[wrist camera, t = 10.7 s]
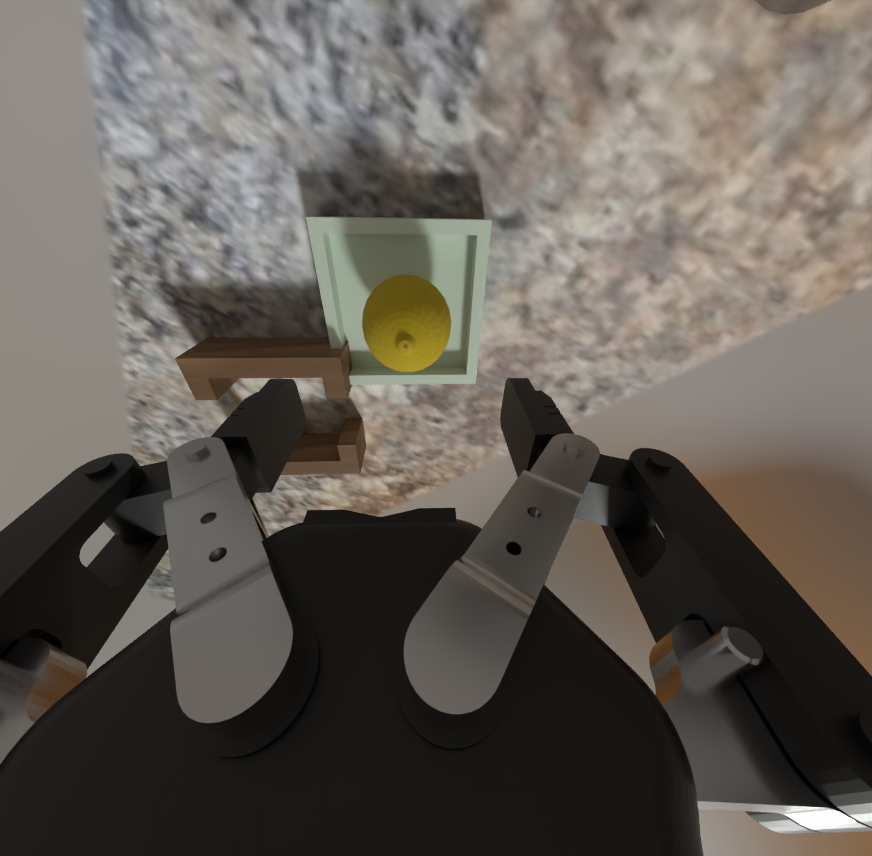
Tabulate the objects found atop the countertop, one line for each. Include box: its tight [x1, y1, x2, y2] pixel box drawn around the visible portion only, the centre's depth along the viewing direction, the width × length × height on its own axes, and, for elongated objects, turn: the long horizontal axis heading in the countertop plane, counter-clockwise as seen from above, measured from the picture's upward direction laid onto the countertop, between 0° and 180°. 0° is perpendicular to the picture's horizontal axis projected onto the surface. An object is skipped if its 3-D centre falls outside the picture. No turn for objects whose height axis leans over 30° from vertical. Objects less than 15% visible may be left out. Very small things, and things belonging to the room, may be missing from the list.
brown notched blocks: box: [175, 338, 366, 475], centre depth 26 cm, size 11×11×4 cm
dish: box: [306, 216, 492, 385], centre depth 23 cm, size 11×11×2 cm
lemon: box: [362, 274, 451, 372], centre depth 20 cm, size 6×6×8 cm
